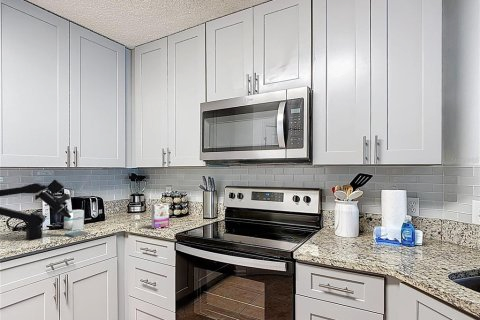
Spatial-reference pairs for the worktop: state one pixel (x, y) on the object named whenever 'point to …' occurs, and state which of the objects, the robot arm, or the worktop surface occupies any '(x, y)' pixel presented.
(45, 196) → the robot arm
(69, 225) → the cartridge
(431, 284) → the worktop surface
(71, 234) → the mat
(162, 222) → the candy bar box
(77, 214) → the supplement box
